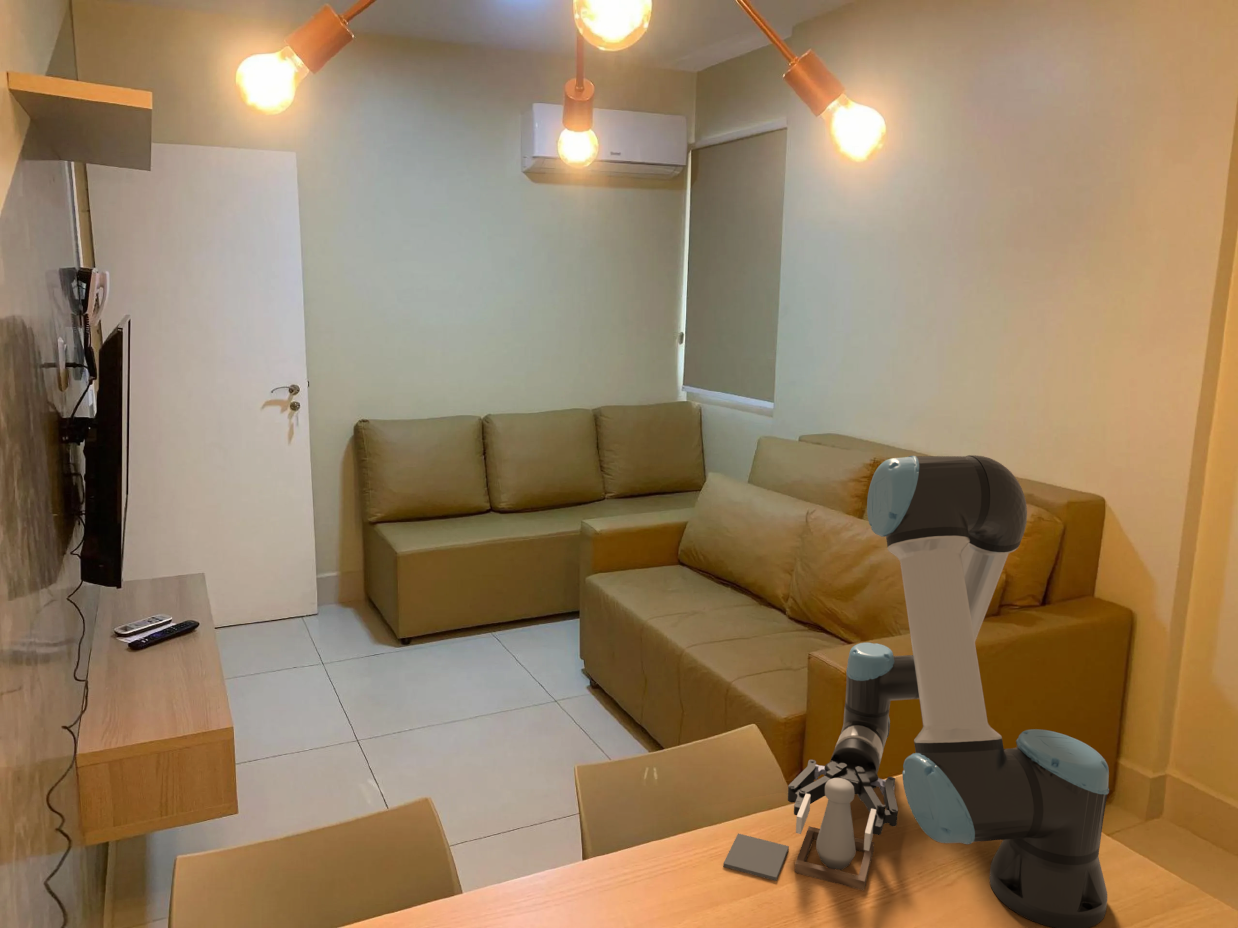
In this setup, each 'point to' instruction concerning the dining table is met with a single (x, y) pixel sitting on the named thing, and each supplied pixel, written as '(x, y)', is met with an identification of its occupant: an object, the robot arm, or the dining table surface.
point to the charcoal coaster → (756, 857)
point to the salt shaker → (837, 826)
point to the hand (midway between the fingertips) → (832, 833)
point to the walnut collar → (830, 873)
